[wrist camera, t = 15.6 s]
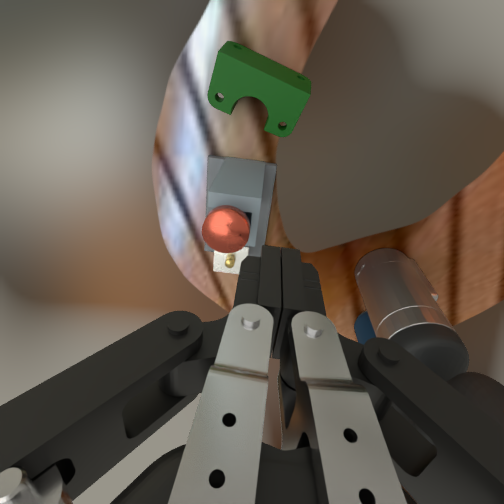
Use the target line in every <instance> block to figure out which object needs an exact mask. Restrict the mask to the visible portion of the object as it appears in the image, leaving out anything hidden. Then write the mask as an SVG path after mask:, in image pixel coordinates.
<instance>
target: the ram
mask: <svg viewBox="0 0 504 504" xmlns="http://www.w3.org/2000/svg"><path fill="white" fill-rule="evenodd" d="M249 233H250V222H249V219H248V217H247V216H246V214H245V213H244V212H243V211H241V210H240V209H238V208H236V207H234V206H230V205H222V206H218V207H216V208H214V209H212V210H211V211H210V212H209V213H208V215H207V217H206V219H205V221H204V223H203V226H202V236H203V238H204V240H205V242H206V243H207V245H208V246H209V247H211V248H212V249H214V250H215V251H218V252H221V253H234V252H237V251H239V250H241V249H242V248H243V247H244V246H245V245H246V243H247V242H248V239H249Z"/></svg>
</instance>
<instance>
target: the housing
mask: <svg viewBox="0 0 504 504" xmlns="http://www.w3.org/2000/svg"><path fill="white" fill-rule="evenodd" d="M248 254H249V246H244V247H243V248H242V249H241V250H239V251H237V252H234V253H221V252H218V251H215V250H214V268H213V271H218V272H226V273H233V274H239V272H240V266H241V262H242V261H243V260H244V259H245V258H246V257H247V256H248Z"/></svg>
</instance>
